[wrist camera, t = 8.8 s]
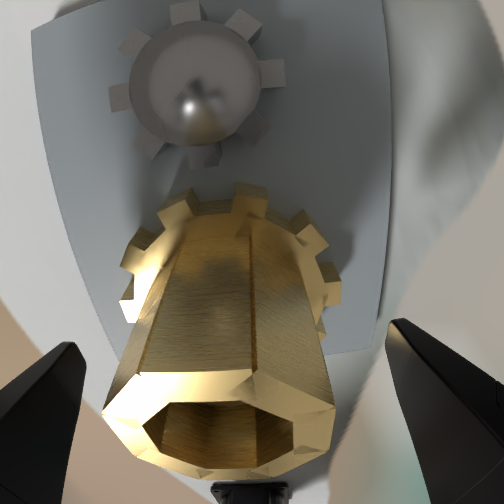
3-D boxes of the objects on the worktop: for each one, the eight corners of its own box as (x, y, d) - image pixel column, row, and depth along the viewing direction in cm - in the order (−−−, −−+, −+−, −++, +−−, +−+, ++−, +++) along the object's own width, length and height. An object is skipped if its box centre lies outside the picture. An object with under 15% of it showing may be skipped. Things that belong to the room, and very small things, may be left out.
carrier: (365, 333, 14) (403, 434, 9) (126, 350, 14) (93, 448, 9) (366, -16, 7) (455, -78, 2) (46, 33, 8) (-66, 23, 3)
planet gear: (329, 346, 13) (363, 478, 7) (159, 359, 13) (129, 486, 8) (332, 172, 9) (431, 282, 4) (106, 200, 10) (-6, 316, 4)
